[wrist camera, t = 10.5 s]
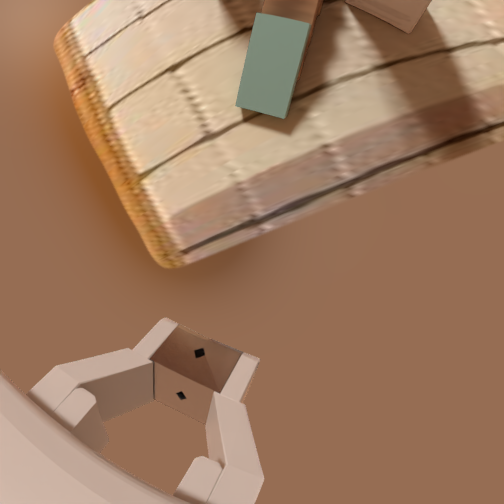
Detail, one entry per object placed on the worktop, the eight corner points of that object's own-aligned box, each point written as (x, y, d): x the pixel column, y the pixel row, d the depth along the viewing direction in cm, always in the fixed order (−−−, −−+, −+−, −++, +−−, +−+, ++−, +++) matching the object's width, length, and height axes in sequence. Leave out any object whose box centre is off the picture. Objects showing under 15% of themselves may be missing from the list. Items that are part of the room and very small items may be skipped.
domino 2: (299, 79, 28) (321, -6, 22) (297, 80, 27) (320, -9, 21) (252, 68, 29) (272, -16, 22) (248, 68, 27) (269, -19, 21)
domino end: (287, 116, 29) (311, 25, 23) (284, 119, 28) (309, 23, 22) (240, 103, 30) (260, 14, 24) (235, 106, 29) (256, 12, 22)
